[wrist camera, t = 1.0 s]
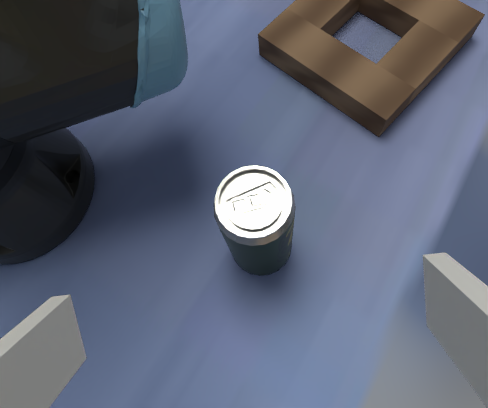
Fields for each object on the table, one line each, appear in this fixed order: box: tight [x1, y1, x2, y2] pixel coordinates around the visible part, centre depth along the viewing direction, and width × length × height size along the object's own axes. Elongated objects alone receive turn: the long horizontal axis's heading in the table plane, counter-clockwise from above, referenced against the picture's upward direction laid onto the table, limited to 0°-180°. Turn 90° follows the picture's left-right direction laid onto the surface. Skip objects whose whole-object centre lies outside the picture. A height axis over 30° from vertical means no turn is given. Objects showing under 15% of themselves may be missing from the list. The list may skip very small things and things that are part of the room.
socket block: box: [258, 0, 485, 137], centre depth 42 cm, size 16×16×3 cm
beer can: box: [214, 165, 295, 275], centre depth 31 cm, size 5×5×12 cm
